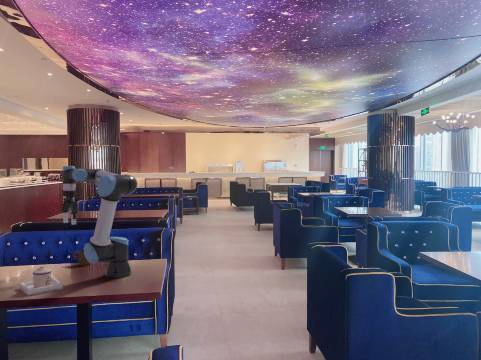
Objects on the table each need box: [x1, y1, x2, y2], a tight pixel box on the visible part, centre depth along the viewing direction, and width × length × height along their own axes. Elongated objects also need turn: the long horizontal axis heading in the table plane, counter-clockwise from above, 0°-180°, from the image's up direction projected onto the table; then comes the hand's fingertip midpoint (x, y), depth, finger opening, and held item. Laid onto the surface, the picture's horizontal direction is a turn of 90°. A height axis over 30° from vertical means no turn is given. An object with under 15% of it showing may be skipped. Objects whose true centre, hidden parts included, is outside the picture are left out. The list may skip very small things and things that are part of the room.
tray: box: [19, 276, 64, 297], centre depth 217 cm, size 17×17×3 cm
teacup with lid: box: [32, 265, 52, 288], centre depth 217 cm, size 12×9×12 cm
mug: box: [72, 249, 92, 267], centre depth 271 cm, size 12×8×9 cm, turn 93°
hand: (69, 223), depth 255 cm, fingers open, 13 cm apart
